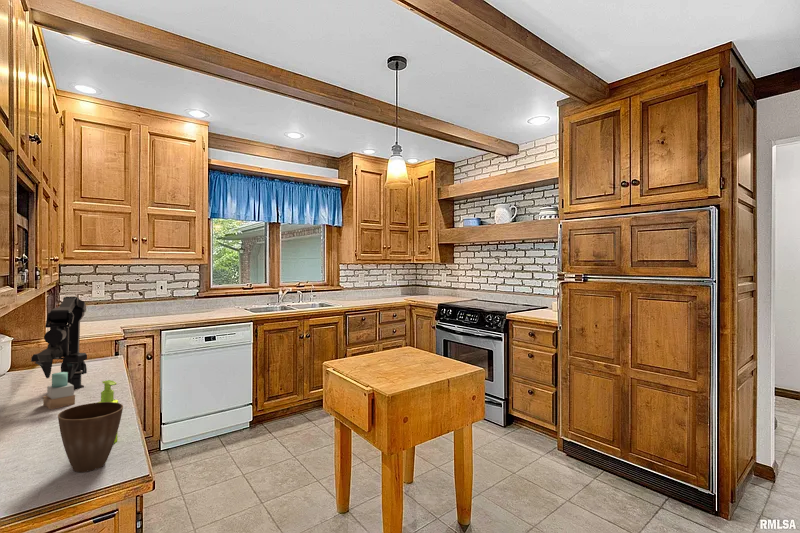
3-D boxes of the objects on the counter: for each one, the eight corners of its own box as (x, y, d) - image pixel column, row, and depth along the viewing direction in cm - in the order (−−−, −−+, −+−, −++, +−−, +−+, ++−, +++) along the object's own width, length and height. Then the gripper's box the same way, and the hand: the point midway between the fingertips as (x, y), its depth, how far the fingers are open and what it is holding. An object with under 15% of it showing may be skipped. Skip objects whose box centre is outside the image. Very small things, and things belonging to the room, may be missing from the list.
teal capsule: (49, 386, 169) (50, 373, 170) (64, 383, 174) (65, 371, 174) (54, 388, 167) (54, 375, 167) (69, 385, 171) (69, 373, 171)
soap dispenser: (101, 449, 130) (103, 384, 130) (91, 443, 133) (93, 381, 133) (122, 442, 135) (123, 380, 135) (112, 437, 138) (113, 377, 138)
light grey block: (47, 395, 169) (47, 386, 169) (68, 392, 175) (68, 382, 175) (52, 399, 165) (52, 389, 165) (73, 395, 171) (73, 385, 171)
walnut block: (43, 406, 169) (43, 396, 169) (67, 401, 175) (67, 391, 175) (50, 410, 164) (50, 400, 164) (74, 404, 171) (75, 395, 171)
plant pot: (124, 450, 129) (125, 399, 129) (118, 471, 115) (119, 414, 116) (63, 460, 121) (64, 406, 122) (49, 484, 108) (51, 422, 108)
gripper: (19, 343, 162) (18, 383, 162) (67, 344, 162) (66, 384, 162) (43, 338, 173) (42, 376, 173) (88, 339, 173) (87, 376, 173)
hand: (59, 378), depth 170 cm, fingers open, 9 cm apart
